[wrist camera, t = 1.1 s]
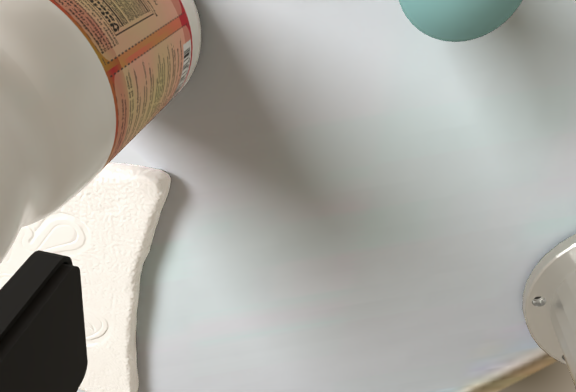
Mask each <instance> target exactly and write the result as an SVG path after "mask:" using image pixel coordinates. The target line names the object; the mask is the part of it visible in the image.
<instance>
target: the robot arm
mask: <svg viewBox="0 0 576 392" xmlns="http://www.w3.org/2000/svg"><path fill="white" fill-rule="evenodd" d="M522 309H523V313H524V317H525V321H526V324H527V327H528V329H529V332H530V334H531V336H532V337H533V339H534V340H535V342H536V343H537V344H538V346H539V347H540V348H541V349H543V350H544V351H545V352H546V353H547V354H548V355H550V356H551V357H553V358H554V359H556V360H557V361H559V362H561V363H563V364H566V365H567V366H568V368H569V371H570V374H571V377H572V380H573V382H574V385H575V388H576V234H575V235H573V236H571V237H569V238H568V239H566V240H564V241H563V242H561V243H559V244H558V245H557V246H556V247H554V248H553V249H552V250H551V251H550V252H548V253H547V254H546V255H545V256H544V257H543V258H542V259H541V261H540V262H539V263H538V264H537V265H536V266H535V268H534V269H533V271H532V273H531V274H530V276H529V278H528V280H527V282H526V285H525V289H524V292H523V305H522ZM87 365H88V360H87V347H86V335H85V323H84V311H83V299H82V287H81V275H80V269H79V267H77V266H73V264H72V260H71V258H70V257H68V256H64V255H59V254H55V253H50V252H45V251H40V250H38V251H35V252H34V253H33V254H32V255H31V256H30V257H29V258H28V259H27V260H26V261H25V262H24V263H23V265H22V266H21V267H20V268H19V269H18V270H17V271H16V272H15V274H14V275H13V276H12V277H11V278H10V279H9V280H8V281H7V283H6V284H5V285H4V286H3V287H2V288H1V289H0V392H77V390H78V388H79V386H80V384H81V383H82V381H83V379H84V376H85V373H86V370H87Z"/></svg>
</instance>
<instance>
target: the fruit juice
mask: <svg viewBox="0 0 576 392" xmlns="http://www.w3.org/2000/svg"><path fill="white" fill-rule="evenodd" d="M200 49H201V25H200V19H199V15H198V11H197V8H196V5H195V2H194V0H0V264H1V263H2V261H3V260H4V258H5V257H6V255H7V254H8V252H9V250H10V249H11V247H12V245H13V244H14V242H15V240H16V238H17V236H18V234H19V231H20V229H21V227H25V226H28V225H31V224H33V223H35V222H38V221H40V220H42V219H44V218H46V217H47V216H49V215H51V214H52V213H54V212H55V211H57V210H58V209H59V208H61V207H62V206H63V205H65V204H66V203H67V202H68V201H70V200H71V199H72V198H73V197H75V196H76V195H77V194H78V193H79V192H80V191H81V190H83V189H84V188H85V187H86V186H87V185H88V184H89V183H90V182H91V181H92V180H93V179H94V178H95V177H96V176H97V175H98V174H99V173H100V171H101V170H102V169H103V168H104V167H105V166H106V165H107V164H108V163H109V162H110V161H111V160H112V159H113V158H114V157H115V156H116V155H117V154H118V153H119V152H120V151H121V150H122V149H123V148H124V147H125V146H126V145H127V144H128V143H129V142H130V141H131V140H132V139H133V138H134V137H135V136H136V135H137V134H138V133H139V132H140V131H141V130H142V129H143V128H144V127H145V126H146V125H147V124H148V123H149V122H150V121H151V120H152V119H153V118H154V117H155V116H156V115H157V114H158V113H159V112H160V111H161V110H162V109H163V108H164V107H165V106H166V105H167V104H168V103H169V102H170V101H171V100H172V99H173V98H174V97H175V96H176V95H177V94H178V93H179V92H180V91H181V90H182V88H183V87H184V86H185V85H186V83H187V82H188V80H189V79H190V77H191V75H192V73H193V71H194V69H195V67H196V65H197V62H198V59H199V55H200Z"/></svg>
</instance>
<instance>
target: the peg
mask: <svg viewBox="0 0 576 392" xmlns="http://www.w3.org/2000/svg"><path fill="white" fill-rule="evenodd" d="M399 2H400V5H401V7H402V10H403V12H404V13H405V15H406V17H407V18H408V19H409V20H410V22H411V23H412V24H413V25H414V26H415V27H416V28H417V29H418V30H420V31H421V32H423V33H424V34H426V35H428V36H430V37H433V38H436V39H439V40H443V41H452V42H459V41H467V40H472V39H475V38H478V37H481V36H483V35H486V34H488V33H490V32H491V31H493V30H495V29H496V28H498V27H499V26H500V25H502V24H503V23H504V22H505V21H506V20H507V19H508V18H509V17H510V16H511V15H512V14H513V13H514V12H515V10H516V9H517V8H518V6H519V5H520V3H521V2H522V0H399Z"/></svg>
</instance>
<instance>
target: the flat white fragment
mask: <svg viewBox="0 0 576 392" xmlns="http://www.w3.org/2000/svg"><path fill="white" fill-rule="evenodd" d="M170 183H171V178H170V176H169V175H168V174H167V173H166V172H164V171H162V170H160V169H154V168H151V167H145V166H139V165H132V164H126V163H112V162H109V163H108V164H107V165H106V166H105V167H104V168H103V169H102V170H101V171H100V173H99V174H98V175H97V176H96V177H95V178H94V179H93V180H92V181H91V182H90V183H89V184H88V185H87V186H86V187H85V188H84V189H83V190H81V191H80V192H79V193H78V194H77V195H76V196H75V197H73V198H72V199H71V200H70V201H68V202H67V203H66V204H65V205H63V206H62V207H61V208H59V209H58V210H57V211H55V212H54V213H52V214H51V215H49V216H47V217H46V218H44V219H42V220H40V221H38V222H35V223H33V224H31V225H28V226H25V227H21V229H20V231H19V234H18V236H17V238H16V240H15V242H14V244H13V245H12V247H11V249H10V250H9V252H8V254H7V255H6V257H5V258H4V260H3V261H2V263H1V264H0V289H1V288H2V287H3V286H4V285H5V284H6V283H7V281H8V280H9V279H10V278H11V277H12V276H13V275H14V274H15V272H16V271H17V270H18V269H19V268H20V267H21V266H22V265H23V263H24V262H25V261H26V260H27V259H28V258H29V257H30V256H31V255H32V254H33V253H34V252H35V251H38V250H40V251H45V252H50V253H55V254H59V255H64V256H68V257H70V258H71V260H72V264H73V266H77V267H79V269H80V275H81V287H82V299H83V311H84V323H85V335H86V347H87V360H88V365H87V370H86V373H85V376H84V379H83V381H82V383H81V384H80V386H79V388H78V389H81V390H83V391H86V392H137V391H138V387H139V378H138V371H137V361H136V360H137V349H136V343H135V342H136V326H137V308H138V301H139V291H140V290H139V289H140V277H141V272H142V269H143V263H144V261H145V259H146V258H147V255H148V254H149V251H150V247H151V244H152V240H153V237H154V233H155V229H156V226H157V224H158V222H159V217H160V214H161V210H162V207H163V206H164V203H165V201H166V198H167V196H168V192H169V189H170Z"/></svg>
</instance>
